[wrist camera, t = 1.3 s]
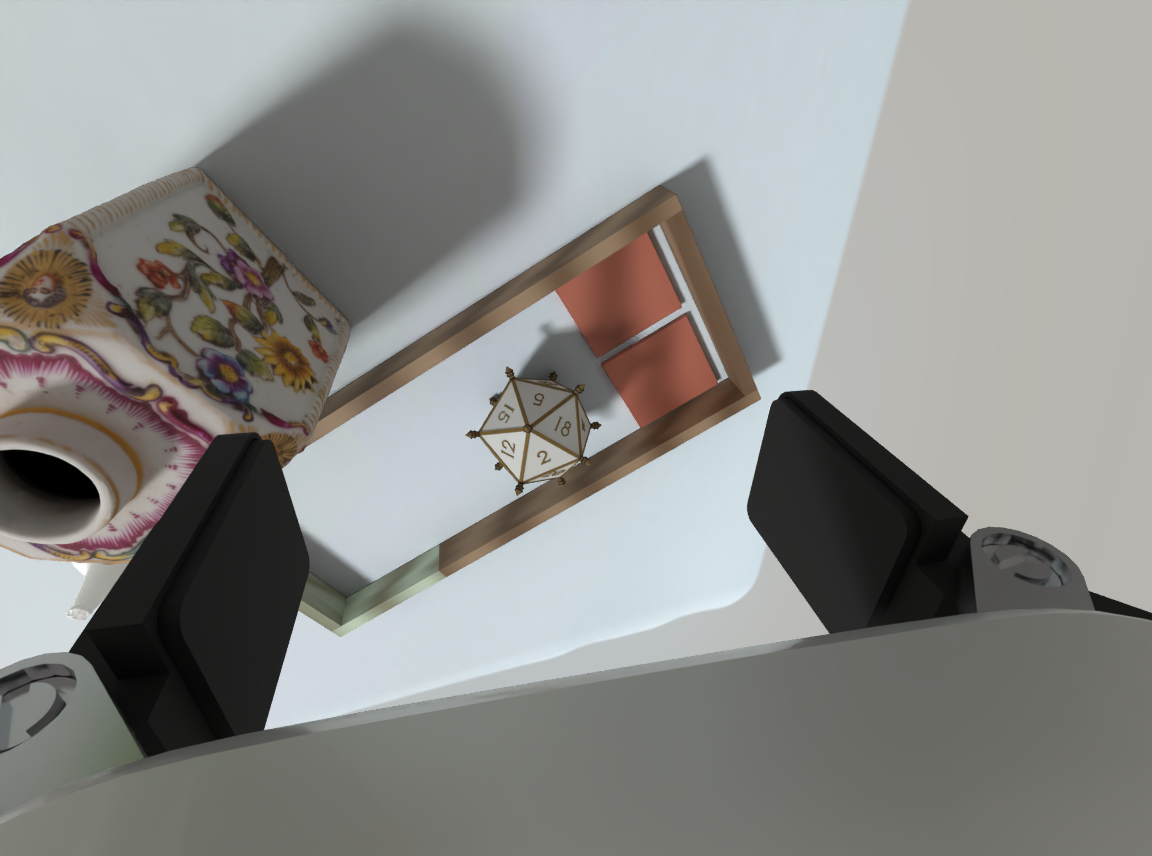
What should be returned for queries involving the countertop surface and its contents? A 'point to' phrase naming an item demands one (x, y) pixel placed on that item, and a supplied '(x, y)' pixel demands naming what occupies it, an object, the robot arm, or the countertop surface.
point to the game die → (536, 429)
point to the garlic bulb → (94, 587)
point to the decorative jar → (147, 363)
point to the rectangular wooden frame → (640, 373)
